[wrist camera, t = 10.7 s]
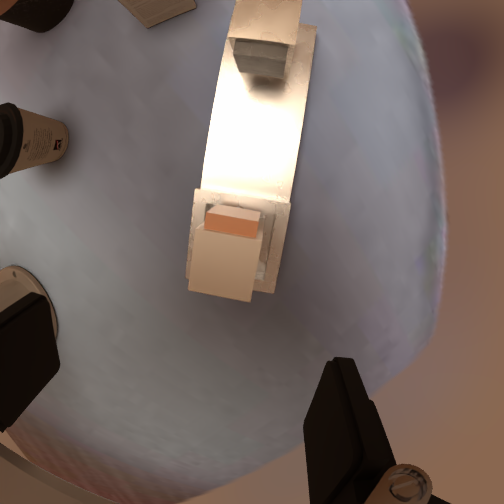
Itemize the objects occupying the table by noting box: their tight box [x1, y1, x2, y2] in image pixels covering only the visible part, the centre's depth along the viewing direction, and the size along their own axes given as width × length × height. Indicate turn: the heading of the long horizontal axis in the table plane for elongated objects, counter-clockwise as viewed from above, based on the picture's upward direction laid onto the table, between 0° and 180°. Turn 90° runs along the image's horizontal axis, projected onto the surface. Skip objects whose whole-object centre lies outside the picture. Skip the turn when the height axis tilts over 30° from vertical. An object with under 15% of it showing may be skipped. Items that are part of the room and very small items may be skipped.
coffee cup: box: [0, 103, 69, 179], centre depth 22 cm, size 7×7×10 cm
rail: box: [185, 0, 317, 294], centre depth 21 cm, size 24×8×10 cm, turn 171°
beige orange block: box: [188, 204, 264, 302], centre depth 22 cm, size 5×4×8 cm
